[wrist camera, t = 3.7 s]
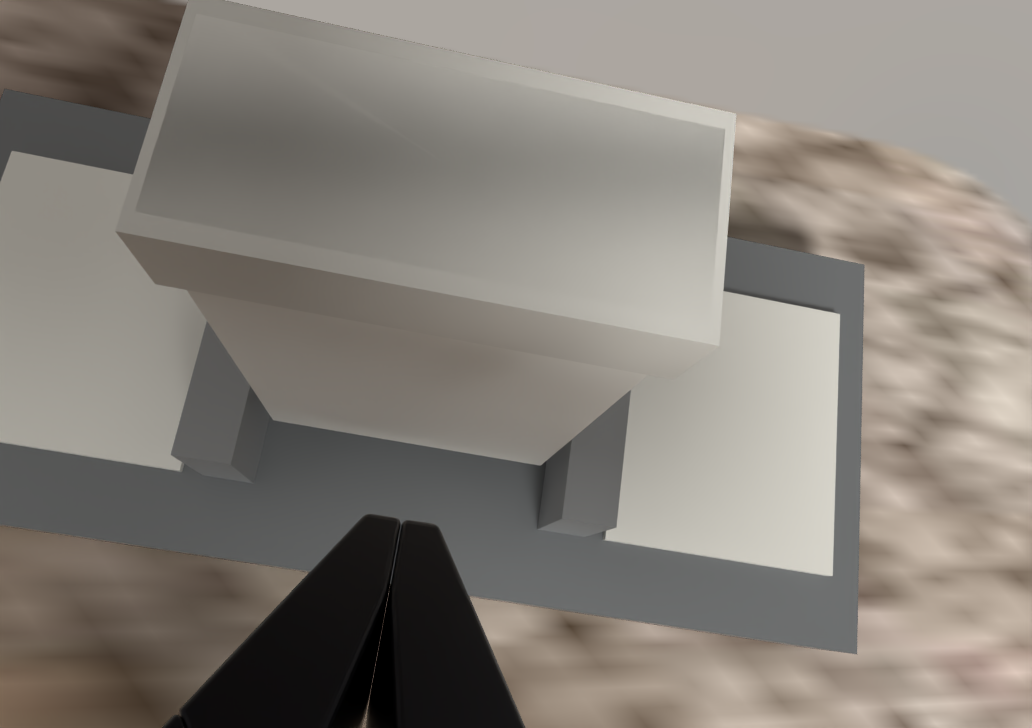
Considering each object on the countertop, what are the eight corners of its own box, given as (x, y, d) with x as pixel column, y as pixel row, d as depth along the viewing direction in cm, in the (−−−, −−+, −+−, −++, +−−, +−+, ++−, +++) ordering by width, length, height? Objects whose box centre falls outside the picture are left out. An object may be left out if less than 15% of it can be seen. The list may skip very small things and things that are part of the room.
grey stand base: (810, 647, 19) (932, 663, 15) (-93, 511, 17) (-256, 483, 13) (822, 293, 22) (929, 219, 17) (42, 138, 20) (-56, 10, 15)
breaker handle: (544, 476, 15) (719, 345, 7) (264, 430, 15) (115, 230, 7) (560, 356, 16) (736, 114, 8) (294, 307, 15) (191, -7, 7)
